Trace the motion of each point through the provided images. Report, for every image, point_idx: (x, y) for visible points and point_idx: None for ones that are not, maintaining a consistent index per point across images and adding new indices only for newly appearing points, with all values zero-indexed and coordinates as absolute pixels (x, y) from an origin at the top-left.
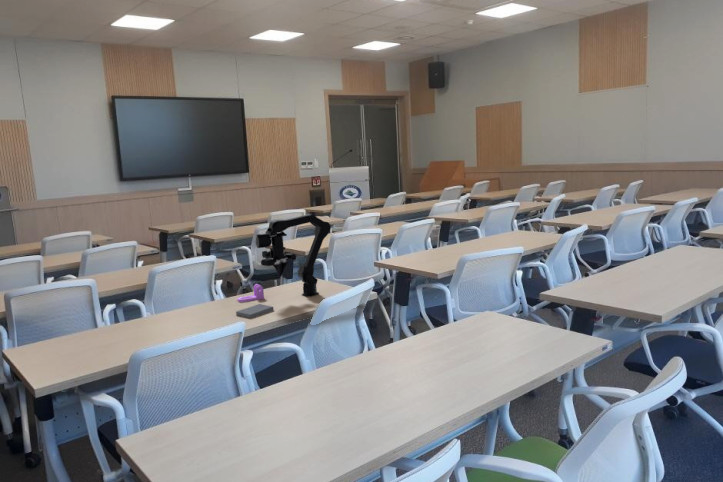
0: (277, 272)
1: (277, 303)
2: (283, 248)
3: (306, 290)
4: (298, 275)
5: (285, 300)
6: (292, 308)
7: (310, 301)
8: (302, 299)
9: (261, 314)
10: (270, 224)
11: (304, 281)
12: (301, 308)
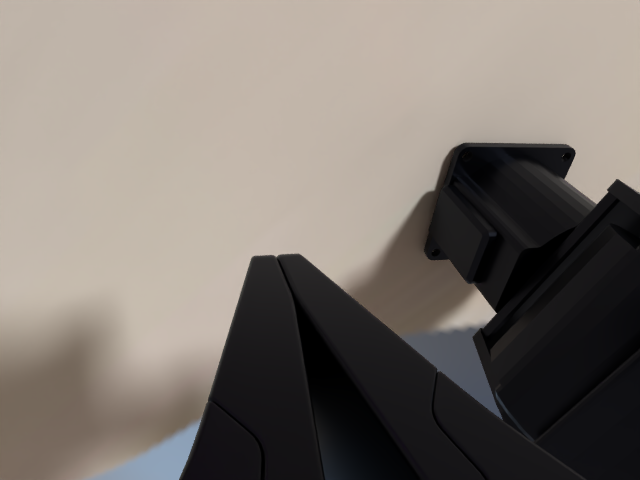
0: (229, 343)
1: (49, 143)
2: None
3: (450, 259)
4: (624, 269)
5: (210, 132)
6: (43, 386)
7: None
8: (321, 256)
9: None
10: None
11: (582, 242)
12: (98, 426)
